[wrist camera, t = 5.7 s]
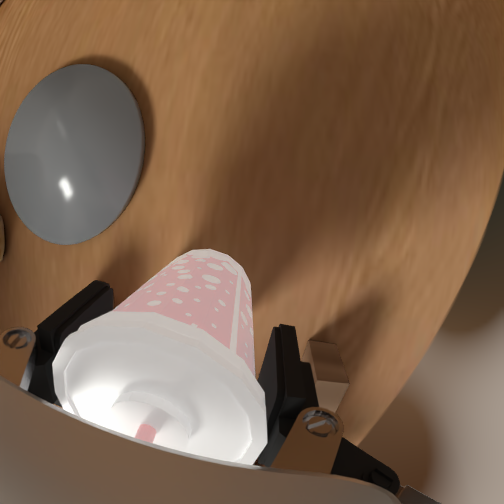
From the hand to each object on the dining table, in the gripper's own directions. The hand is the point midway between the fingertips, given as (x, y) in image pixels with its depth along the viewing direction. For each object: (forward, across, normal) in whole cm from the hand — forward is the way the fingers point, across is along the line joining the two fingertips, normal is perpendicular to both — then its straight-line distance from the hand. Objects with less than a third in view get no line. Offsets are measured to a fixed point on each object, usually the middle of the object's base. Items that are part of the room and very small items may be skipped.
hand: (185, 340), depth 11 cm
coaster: (+5, +9, -6) cm, 12 cm away
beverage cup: (+5, 0, 0) cm, 5 cm away
